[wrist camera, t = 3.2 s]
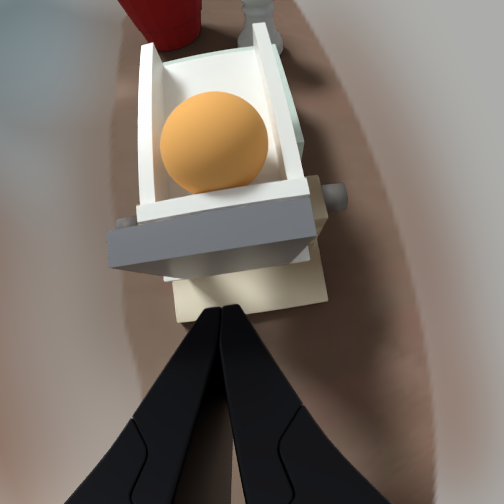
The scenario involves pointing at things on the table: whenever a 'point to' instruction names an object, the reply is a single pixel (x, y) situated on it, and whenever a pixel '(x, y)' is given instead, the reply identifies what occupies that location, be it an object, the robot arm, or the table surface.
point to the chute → (222, 201)
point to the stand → (262, 271)
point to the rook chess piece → (258, 12)
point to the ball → (214, 142)
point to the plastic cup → (166, 21)
